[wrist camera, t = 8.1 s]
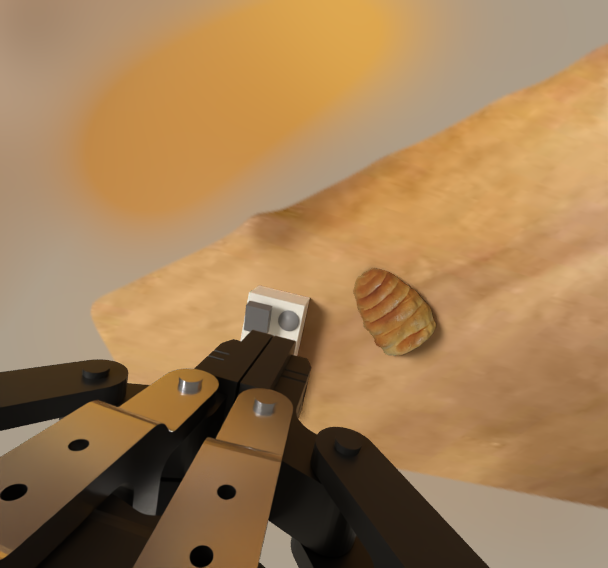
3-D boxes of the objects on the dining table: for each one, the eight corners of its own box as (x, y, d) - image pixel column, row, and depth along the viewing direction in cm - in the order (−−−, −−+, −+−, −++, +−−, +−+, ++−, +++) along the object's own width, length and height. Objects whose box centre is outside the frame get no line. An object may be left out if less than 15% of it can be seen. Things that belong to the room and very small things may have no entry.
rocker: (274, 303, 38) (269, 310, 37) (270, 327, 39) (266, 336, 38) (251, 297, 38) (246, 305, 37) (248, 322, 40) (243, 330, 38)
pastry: (338, 289, 42) (335, 297, 38) (389, 252, 40) (391, 257, 36) (389, 355, 42) (391, 369, 38) (441, 322, 40) (448, 333, 37)
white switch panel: (309, 297, 42) (304, 306, 38) (286, 403, 45) (279, 421, 41) (258, 285, 43) (248, 292, 39) (239, 390, 46) (228, 406, 42)
